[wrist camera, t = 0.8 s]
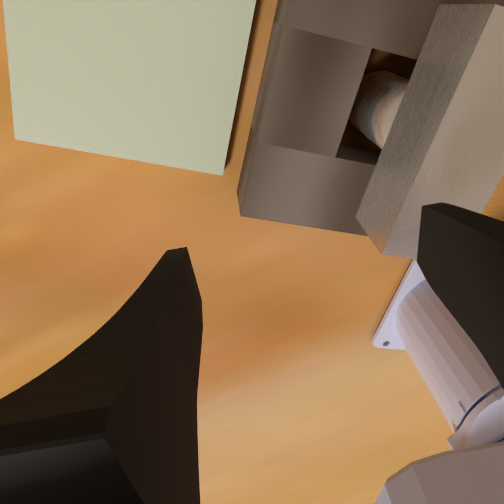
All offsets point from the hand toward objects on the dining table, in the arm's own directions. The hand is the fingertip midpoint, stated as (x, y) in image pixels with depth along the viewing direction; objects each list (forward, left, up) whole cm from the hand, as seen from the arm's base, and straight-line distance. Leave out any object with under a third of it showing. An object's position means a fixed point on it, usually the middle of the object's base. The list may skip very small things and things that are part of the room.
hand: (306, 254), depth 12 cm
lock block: (-5, -3, -10) cm, 12 cm away
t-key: (-5, -3, -10) cm, 12 cm away
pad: (+7, -3, -10) cm, 13 cm away
